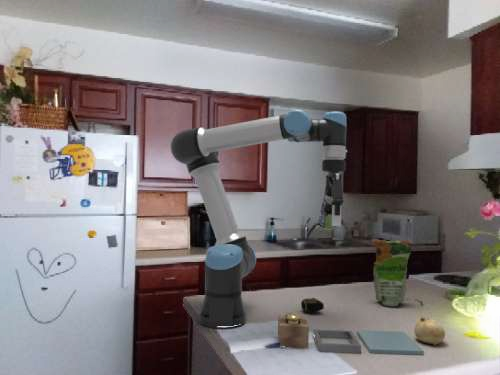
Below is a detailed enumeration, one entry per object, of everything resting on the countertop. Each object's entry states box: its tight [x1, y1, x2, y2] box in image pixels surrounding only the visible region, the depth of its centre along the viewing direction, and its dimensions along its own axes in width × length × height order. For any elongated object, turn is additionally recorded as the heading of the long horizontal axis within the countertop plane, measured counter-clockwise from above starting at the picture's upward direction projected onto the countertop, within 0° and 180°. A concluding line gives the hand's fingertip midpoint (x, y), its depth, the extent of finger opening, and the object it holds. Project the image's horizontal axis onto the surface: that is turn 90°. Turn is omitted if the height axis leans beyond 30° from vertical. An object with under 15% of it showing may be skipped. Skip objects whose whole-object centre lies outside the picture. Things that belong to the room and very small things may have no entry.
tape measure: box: [300, 297, 325, 313], centre depth 135 cm, size 7×7×4 cm
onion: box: [413, 316, 446, 346], centre depth 111 cm, size 8×8×7 cm
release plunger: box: [284, 312, 302, 324], centre depth 108 cm, size 4×4×7 cm
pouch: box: [372, 238, 412, 307], centre depth 148 cm, size 11×12×25 cm
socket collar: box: [312, 329, 362, 354], centre depth 107 cm, size 11×11×2 cm
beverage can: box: [317, 194, 336, 231], centre depth 134 cm, size 6×7×12 cm
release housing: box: [277, 315, 310, 349], centre depth 108 cm, size 8×8×6 cm
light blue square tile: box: [356, 329, 425, 356], centre depth 109 cm, size 14×14×1 cm
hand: (332, 224), depth 127 cm, fingers open, 13 cm apart
